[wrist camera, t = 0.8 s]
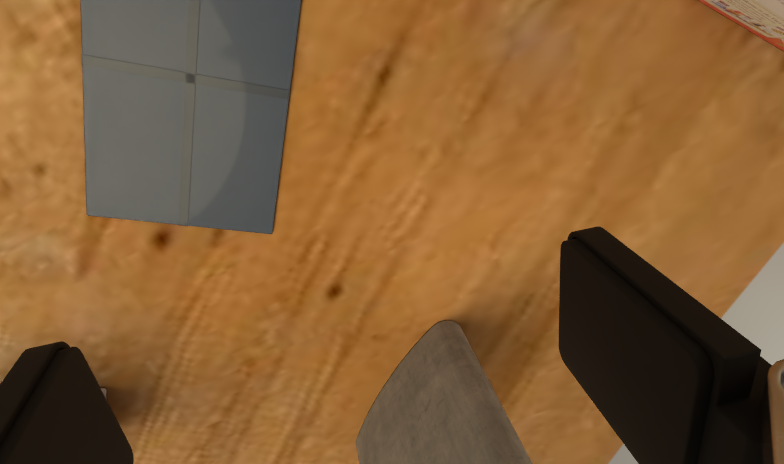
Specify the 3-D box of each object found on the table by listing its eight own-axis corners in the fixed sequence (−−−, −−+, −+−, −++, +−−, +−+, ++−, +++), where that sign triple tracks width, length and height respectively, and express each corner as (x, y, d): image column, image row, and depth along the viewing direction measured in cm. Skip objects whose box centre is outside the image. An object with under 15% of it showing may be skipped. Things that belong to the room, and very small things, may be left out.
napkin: (78, -141, 27) (75, -142, 26) (310, -81, 30) (311, -81, 30) (88, 213, 35) (86, 215, 34) (272, 232, 38) (272, 234, 37)
